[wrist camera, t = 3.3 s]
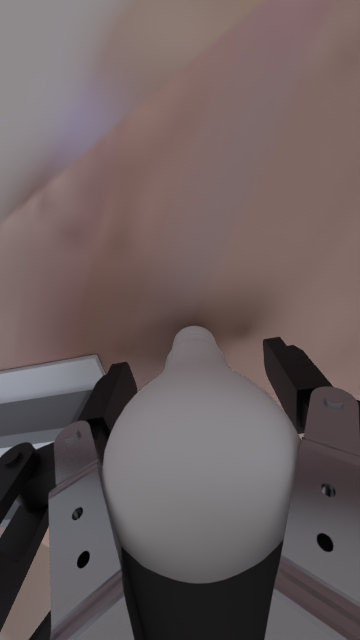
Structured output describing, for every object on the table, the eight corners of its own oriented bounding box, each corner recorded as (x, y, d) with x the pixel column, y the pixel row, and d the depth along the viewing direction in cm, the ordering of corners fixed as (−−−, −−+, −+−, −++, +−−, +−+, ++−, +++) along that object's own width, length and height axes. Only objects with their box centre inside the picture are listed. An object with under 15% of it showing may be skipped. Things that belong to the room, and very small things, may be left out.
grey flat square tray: (96, 354, 15) (74, 391, 12) (154, 484, 21) (149, 530, 18) (-96, 387, 17) (-160, 427, 14) (11, 499, 23) (-16, 544, 20)
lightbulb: (260, 345, 15) (423, 636, 5) (184, 389, 16) (184, 669, 6) (205, 269, 12) (285, 501, 3) (125, 329, 14) (-13, 605, 4)
